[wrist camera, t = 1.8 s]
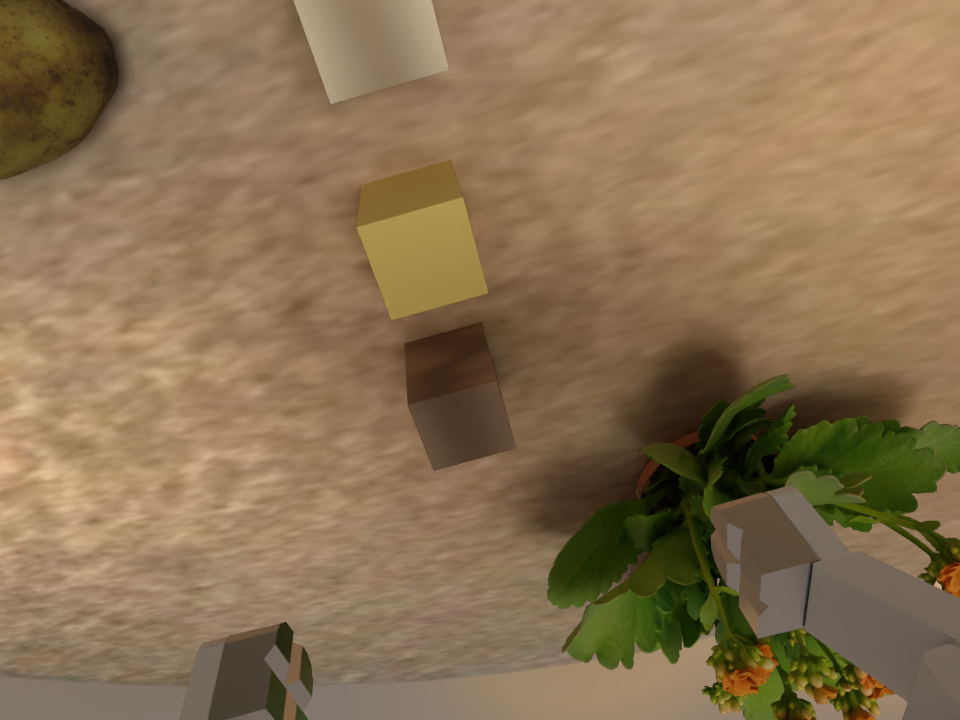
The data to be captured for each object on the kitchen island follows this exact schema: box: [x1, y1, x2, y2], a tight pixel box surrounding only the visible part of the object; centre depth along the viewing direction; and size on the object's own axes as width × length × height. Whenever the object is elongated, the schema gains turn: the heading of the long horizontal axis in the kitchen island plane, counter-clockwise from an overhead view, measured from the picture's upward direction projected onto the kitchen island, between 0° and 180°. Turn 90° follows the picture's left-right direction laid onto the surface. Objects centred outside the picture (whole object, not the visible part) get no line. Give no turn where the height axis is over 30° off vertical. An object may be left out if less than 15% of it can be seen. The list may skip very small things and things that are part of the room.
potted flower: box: [547, 375, 960, 720], centre depth 37 cm, size 25×24×18 cm
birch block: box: [294, 0, 449, 104], centre depth 24 cm, size 4×4×6 cm
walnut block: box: [405, 322, 516, 471], centre depth 34 cm, size 4×4×6 cm
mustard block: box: [357, 160, 488, 321], centre depth 29 cm, size 4×4×6 cm
